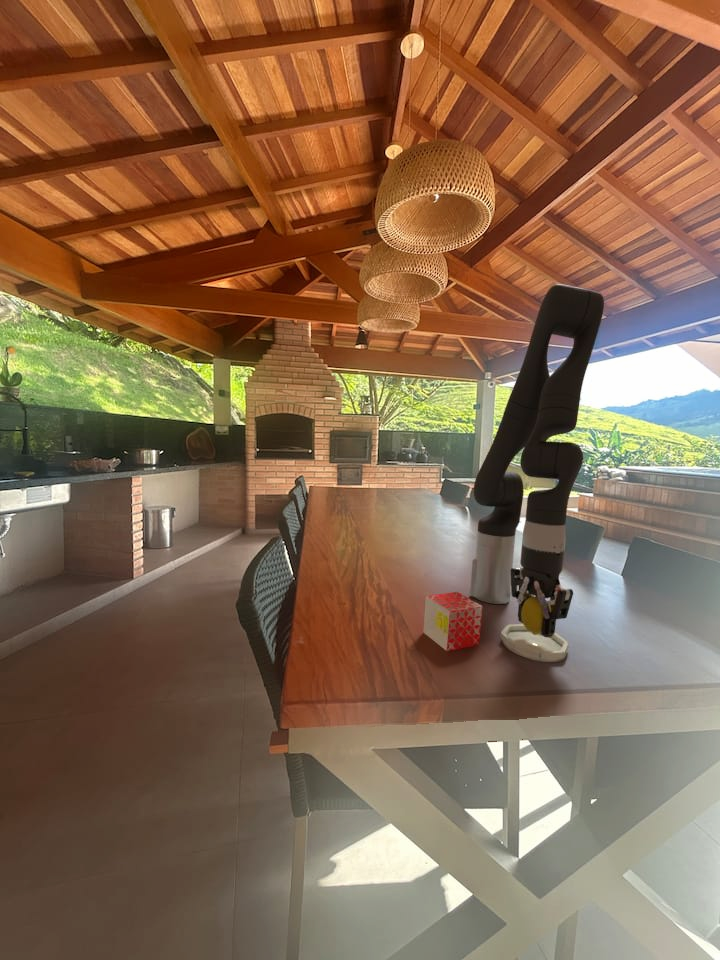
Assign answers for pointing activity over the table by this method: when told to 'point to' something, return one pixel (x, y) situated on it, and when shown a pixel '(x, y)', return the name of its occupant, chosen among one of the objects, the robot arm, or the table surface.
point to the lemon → (532, 615)
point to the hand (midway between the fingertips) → (535, 628)
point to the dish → (534, 644)
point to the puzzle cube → (452, 620)
